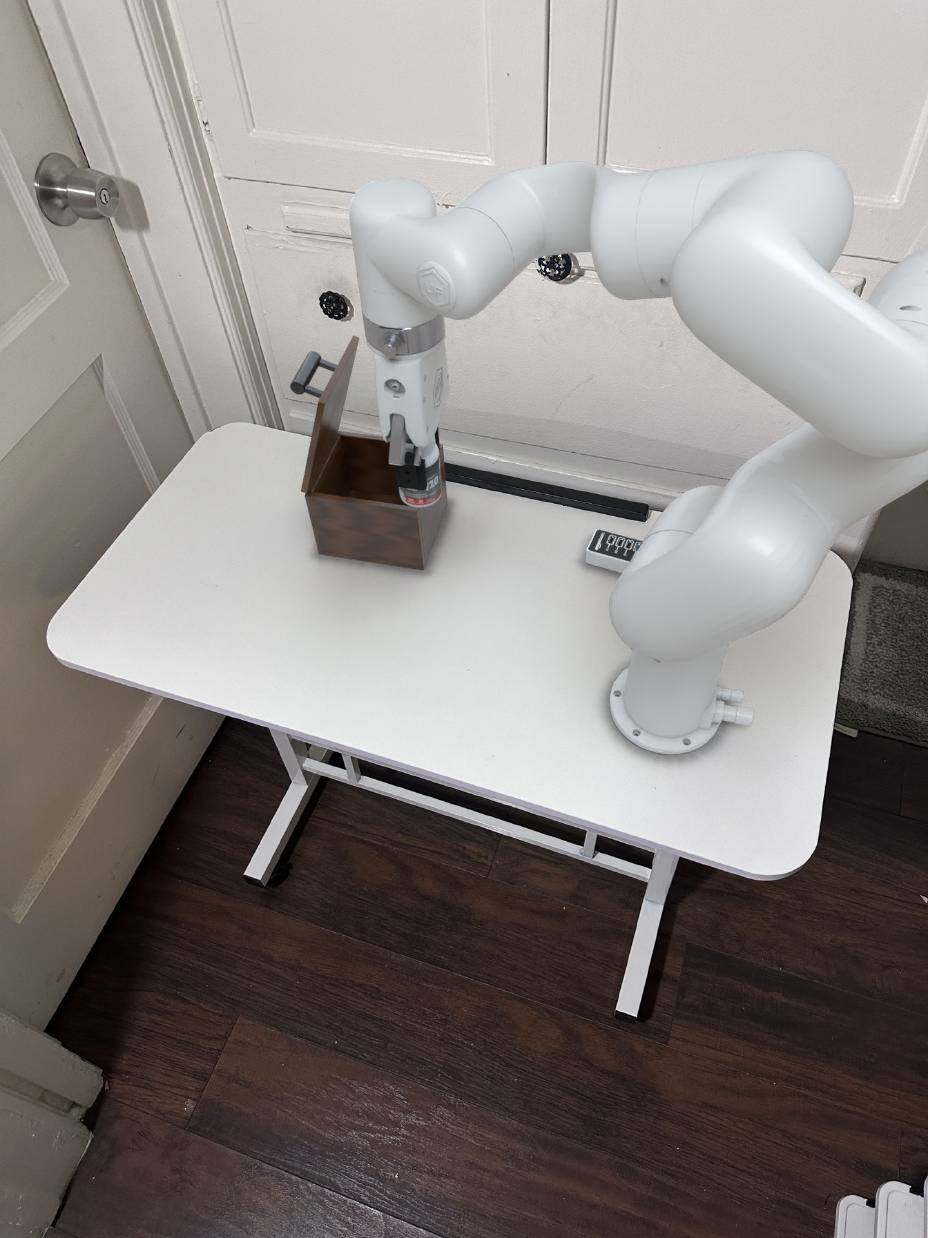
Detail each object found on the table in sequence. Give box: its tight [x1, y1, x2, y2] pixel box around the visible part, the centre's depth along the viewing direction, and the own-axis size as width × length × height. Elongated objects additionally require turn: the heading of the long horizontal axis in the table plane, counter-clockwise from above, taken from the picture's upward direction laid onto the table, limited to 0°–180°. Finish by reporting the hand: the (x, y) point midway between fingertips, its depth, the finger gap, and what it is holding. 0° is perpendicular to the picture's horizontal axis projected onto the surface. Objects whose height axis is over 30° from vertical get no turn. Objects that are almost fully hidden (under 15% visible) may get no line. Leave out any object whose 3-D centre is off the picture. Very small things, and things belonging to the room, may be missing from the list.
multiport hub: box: [584, 528, 644, 574], centre depth 118 cm, size 4×14×2 cm, turn 67°
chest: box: [304, 430, 449, 571], centre depth 121 cm, size 15×13×11 cm
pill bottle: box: [399, 432, 442, 507], centre depth 99 cm, size 5×5×8 cm
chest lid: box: [289, 335, 360, 494], centre depth 111 cm, size 15×13×5 cm
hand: (419, 468), depth 99 cm, fingers closed on pill bottle, 4 cm apart
